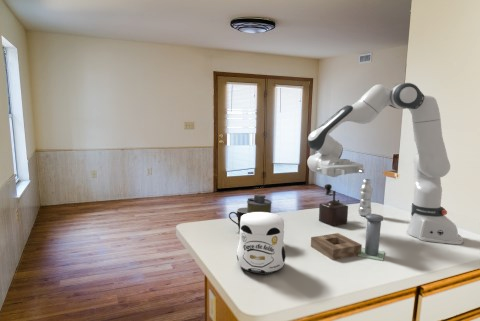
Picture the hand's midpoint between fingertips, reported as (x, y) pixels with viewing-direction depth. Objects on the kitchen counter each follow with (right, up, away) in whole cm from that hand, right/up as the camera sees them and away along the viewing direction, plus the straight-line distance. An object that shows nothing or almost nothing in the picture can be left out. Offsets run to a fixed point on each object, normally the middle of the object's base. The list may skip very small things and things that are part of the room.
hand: (354, 171), depth 143 cm
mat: (+4, -32, -8) cm, 34 cm away
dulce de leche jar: (-41, -33, -21) cm, 57 cm away
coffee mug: (-47, -28, +16) cm, 57 cm away
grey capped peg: (+4, -32, -8) cm, 33 cm away
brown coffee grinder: (-2, -27, +33) cm, 43 cm away
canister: (-40, -30, +5) cm, 50 cm away
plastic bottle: (+20, -26, +44) cm, 54 cm away
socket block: (-9, -32, -5) cm, 33 cm away
